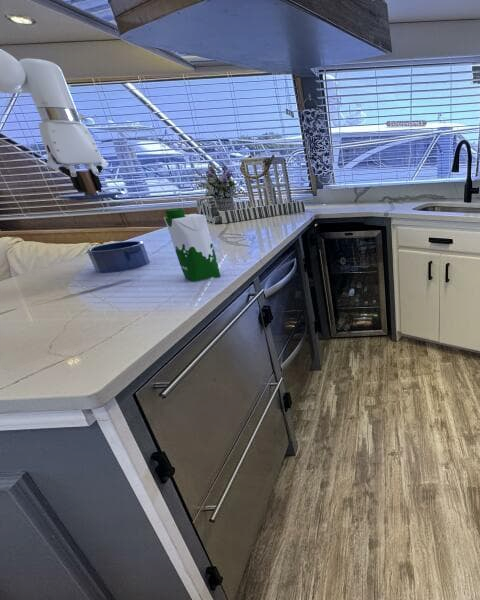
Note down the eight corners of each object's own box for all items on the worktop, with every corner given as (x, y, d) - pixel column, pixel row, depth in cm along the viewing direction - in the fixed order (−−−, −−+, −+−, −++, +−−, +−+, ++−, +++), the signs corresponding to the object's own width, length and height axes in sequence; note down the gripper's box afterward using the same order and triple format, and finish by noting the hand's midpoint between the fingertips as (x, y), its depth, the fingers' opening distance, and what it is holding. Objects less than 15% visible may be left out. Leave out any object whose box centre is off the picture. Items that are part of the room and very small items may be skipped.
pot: (117, 281, 95) (105, 253, 91) (85, 274, 103) (74, 248, 99) (165, 268, 106) (156, 243, 102) (133, 263, 114) (124, 239, 110)
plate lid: (72, 201, 83) (59, 171, 80) (48, 200, 89) (35, 173, 86) (135, 195, 95) (126, 169, 92) (110, 195, 101) (100, 170, 98)
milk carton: (181, 279, 94) (158, 209, 86) (213, 271, 101) (194, 205, 93) (192, 285, 89) (169, 211, 81) (225, 276, 96) (207, 207, 88)
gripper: (92, 121, 92) (116, 189, 100) (10, 116, 79) (45, 194, 86) (105, 119, 89) (129, 189, 96) (22, 113, 76) (58, 194, 83)
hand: (89, 190), depth 91 cm, fingers closed on plate lid, 3 cm apart
